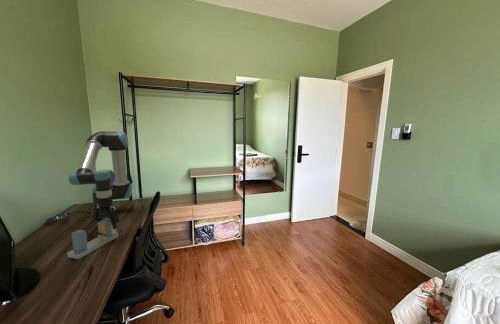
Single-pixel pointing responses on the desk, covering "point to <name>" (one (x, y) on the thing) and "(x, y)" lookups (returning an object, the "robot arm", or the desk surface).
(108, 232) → the grey orange block
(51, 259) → the desk surface
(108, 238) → the rail
